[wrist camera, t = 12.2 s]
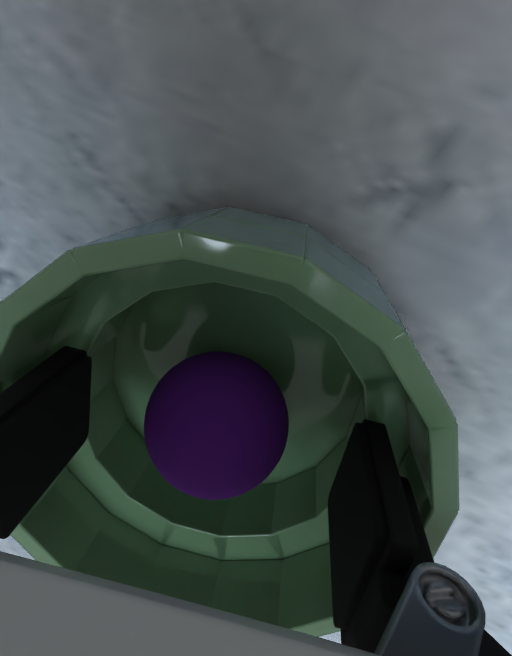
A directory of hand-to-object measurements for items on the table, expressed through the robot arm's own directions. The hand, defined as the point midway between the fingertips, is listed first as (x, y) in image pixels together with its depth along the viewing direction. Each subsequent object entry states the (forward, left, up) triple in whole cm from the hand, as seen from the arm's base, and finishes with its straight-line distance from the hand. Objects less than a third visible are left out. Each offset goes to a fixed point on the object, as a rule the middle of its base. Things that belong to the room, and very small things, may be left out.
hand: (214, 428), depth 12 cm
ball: (0, 0, -1) cm, 1 cm away
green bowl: (0, 0, -4) cm, 4 cm away
